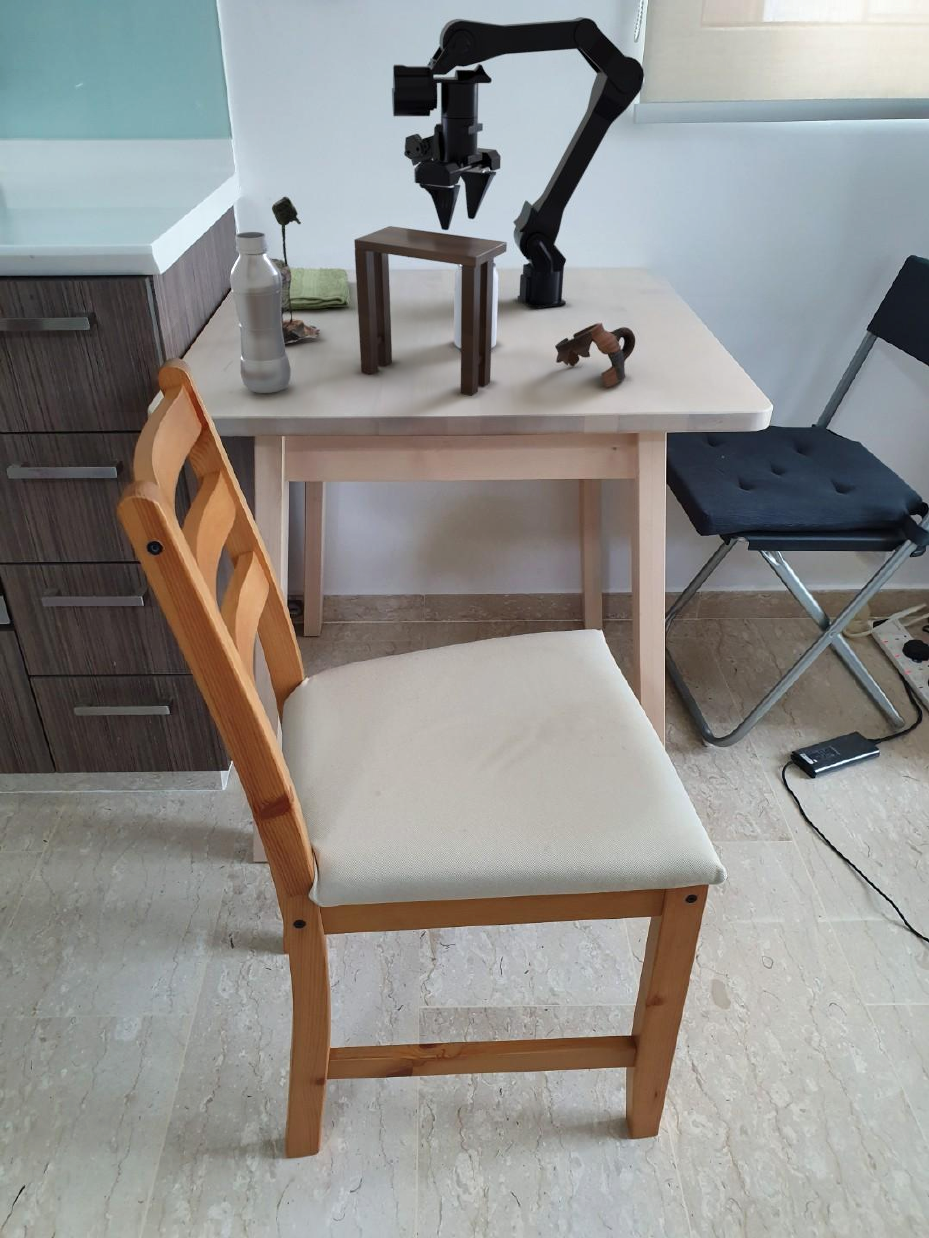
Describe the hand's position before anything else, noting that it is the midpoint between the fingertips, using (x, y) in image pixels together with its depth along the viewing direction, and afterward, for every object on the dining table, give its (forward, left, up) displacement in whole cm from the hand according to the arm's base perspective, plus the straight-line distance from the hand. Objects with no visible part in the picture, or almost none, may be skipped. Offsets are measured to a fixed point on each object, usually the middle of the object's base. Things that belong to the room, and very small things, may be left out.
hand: (458, 224), depth 151 cm
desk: (+16, +29, -13) cm, 36 cm away
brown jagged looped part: (-6, +38, -13) cm, 41 cm away
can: (+5, +20, -13) cm, 25 cm away
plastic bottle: (+39, +27, -13) cm, 49 cm away
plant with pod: (+32, +7, -13) cm, 35 cm away
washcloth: (+22, -13, -13) cm, 29 cm away
